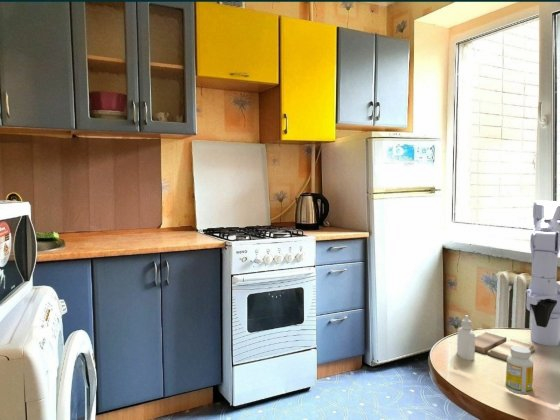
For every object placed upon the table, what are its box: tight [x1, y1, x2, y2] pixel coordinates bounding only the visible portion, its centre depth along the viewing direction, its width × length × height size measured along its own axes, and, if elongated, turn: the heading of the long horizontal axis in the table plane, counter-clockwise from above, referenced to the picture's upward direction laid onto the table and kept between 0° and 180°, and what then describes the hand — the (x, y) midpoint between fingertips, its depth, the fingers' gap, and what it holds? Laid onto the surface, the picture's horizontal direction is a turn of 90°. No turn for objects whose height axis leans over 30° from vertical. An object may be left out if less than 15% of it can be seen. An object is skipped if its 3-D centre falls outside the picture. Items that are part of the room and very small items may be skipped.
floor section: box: [475, 331, 536, 362], centre depth 119 cm, size 14×14×2 cm
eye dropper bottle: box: [456, 314, 476, 361], centre depth 114 cm, size 4×6×12 cm
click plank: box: [487, 338, 535, 362], centre depth 117 cm, size 13×7×2 cm, turn 128°
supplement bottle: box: [505, 346, 534, 396], centre depth 97 cm, size 5×5×10 cm
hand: (541, 326), depth 113 cm, fingers closed
